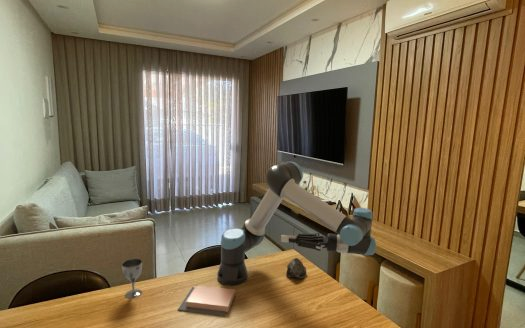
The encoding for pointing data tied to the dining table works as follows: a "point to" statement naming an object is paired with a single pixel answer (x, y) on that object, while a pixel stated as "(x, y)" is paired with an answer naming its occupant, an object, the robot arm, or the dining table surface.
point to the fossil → (296, 269)
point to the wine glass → (132, 275)
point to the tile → (211, 298)
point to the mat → (198, 310)
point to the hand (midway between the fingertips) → (281, 238)
